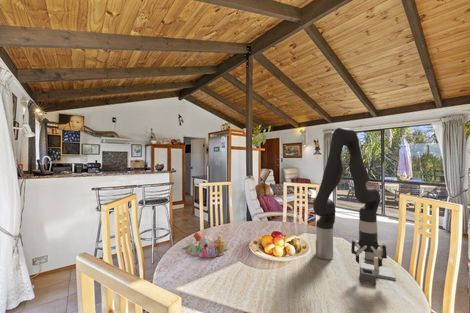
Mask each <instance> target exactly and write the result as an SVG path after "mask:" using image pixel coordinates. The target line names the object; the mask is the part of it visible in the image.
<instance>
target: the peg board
mask: <svg viewBox="0 0 470 313" xmlns="http://www.w3.org/2000/svg"><path fill="white" fill-rule="evenodd" d="M360 267H361V268H366V269H372V270H374V271H375V275H376V278H380V279H381V278H382V279H387V280H390V281H391V280H392V281H396V280H397V278H396V276H395V274H394V271H393V269H392V267H387V266H380V267H378V257H374V261H373V264H369V263H363V262H359V268H360Z"/></svg>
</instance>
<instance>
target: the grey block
mask: <svg viewBox="0 0 470 313" xmlns="http://www.w3.org/2000/svg"><path fill="white" fill-rule="evenodd" d="M359 277H360V278H359V279H360V282H361V283H364V284H369V285H370V284H371V285H376V284H377V282H376V281H377V277H376V275H375V271H374V270H372V269H366V268H361V267H360V266H359Z"/></svg>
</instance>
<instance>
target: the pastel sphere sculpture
mask: <svg viewBox="0 0 470 313" xmlns="http://www.w3.org/2000/svg"><path fill="white" fill-rule="evenodd" d="M193 238H194V239H195V241H196V242H194V243H192V242H191V244H190V245H189V247H188V248H187V252H188V254H189V255H193V256H194V255H196V256H198V257H200V258H205V259H206V258H208V259H209V258H215V257H218V256H222V255H224V254H225V251H226V250H228V247H227V244H226V242H224V241H223V239H224V237H223V236H222V235H218V236H217V240H214V239H213V238H212V237H211V236H209V235H204V236H202V235H201V234H200V233H199V232H194V233H193Z"/></svg>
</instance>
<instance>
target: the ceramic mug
mask: <svg viewBox="0 0 470 313" xmlns="http://www.w3.org/2000/svg"><path fill="white" fill-rule="evenodd" d="M377 251H378V252H379V253H380V255H383V252H382V249H381V248H380V247H378V248H377ZM364 257H365V258H364V260H367V261H373V262H374V257H378V256H377V255H376V254H375V253H374V252H373V253H370V252H365V251H364ZM383 259H384V258H383ZM383 259H382V261H383Z"/></svg>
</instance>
